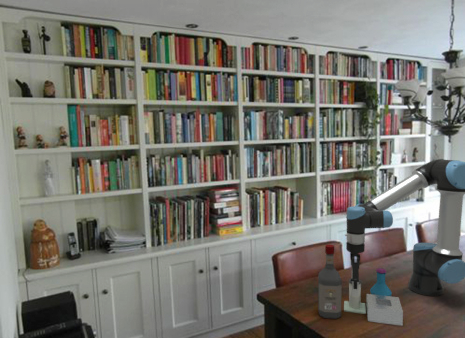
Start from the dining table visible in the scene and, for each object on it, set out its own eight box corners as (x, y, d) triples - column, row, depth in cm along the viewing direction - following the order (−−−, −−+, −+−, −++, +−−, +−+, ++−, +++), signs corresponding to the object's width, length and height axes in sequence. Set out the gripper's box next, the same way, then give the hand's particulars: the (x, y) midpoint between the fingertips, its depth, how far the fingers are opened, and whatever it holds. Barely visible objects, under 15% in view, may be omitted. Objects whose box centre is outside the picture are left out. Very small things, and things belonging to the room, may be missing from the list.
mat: (365, 304, 159) (365, 303, 159) (365, 314, 151) (365, 312, 151) (344, 301, 162) (344, 300, 162) (344, 311, 154) (344, 309, 154)
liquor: (341, 319, 147) (342, 249, 144) (319, 318, 148) (319, 248, 145) (339, 309, 156) (339, 243, 153) (317, 307, 157) (318, 242, 154)
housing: (398, 310, 153) (398, 297, 153) (402, 325, 141) (402, 311, 140) (366, 306, 157) (366, 293, 157) (367, 321, 145) (368, 307, 144)
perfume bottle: (389, 307, 156) (390, 274, 155) (368, 302, 161) (368, 271, 159) (392, 299, 164) (393, 268, 162) (372, 294, 169) (372, 264, 167)
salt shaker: (360, 304, 158) (361, 278, 157) (361, 310, 153) (361, 283, 152) (348, 303, 160) (348, 277, 159) (348, 308, 155) (348, 282, 154)
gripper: (346, 233, 167) (346, 277, 169) (346, 250, 143) (345, 300, 145) (363, 234, 164) (362, 278, 166) (365, 251, 141) (365, 302, 143)
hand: (354, 288), depth 156 cm, fingers open, 13 cm apart
